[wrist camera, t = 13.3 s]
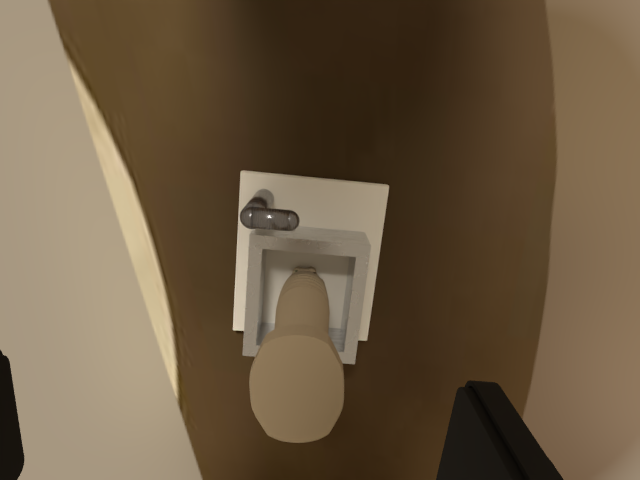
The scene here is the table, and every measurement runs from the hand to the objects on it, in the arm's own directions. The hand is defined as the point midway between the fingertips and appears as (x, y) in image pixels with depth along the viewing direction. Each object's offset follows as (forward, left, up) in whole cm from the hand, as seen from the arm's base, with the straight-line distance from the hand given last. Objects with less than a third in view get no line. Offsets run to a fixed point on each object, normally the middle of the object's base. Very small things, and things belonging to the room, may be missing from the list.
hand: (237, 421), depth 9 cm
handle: (+7, +2, -26) cm, 27 cm away
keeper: (+5, +2, -27) cm, 28 cm away
